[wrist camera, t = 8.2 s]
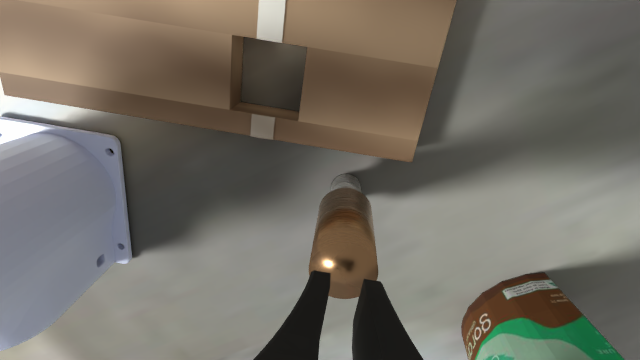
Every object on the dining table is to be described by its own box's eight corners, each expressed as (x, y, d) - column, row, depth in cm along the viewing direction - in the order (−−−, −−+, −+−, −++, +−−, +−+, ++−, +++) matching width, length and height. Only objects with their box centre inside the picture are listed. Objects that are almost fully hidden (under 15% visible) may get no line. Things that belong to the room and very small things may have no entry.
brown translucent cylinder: (363, 210, 22) (370, 303, 14) (320, 203, 22) (304, 292, 15) (373, 170, 21) (385, 249, 13) (327, 162, 21) (313, 237, 13)
